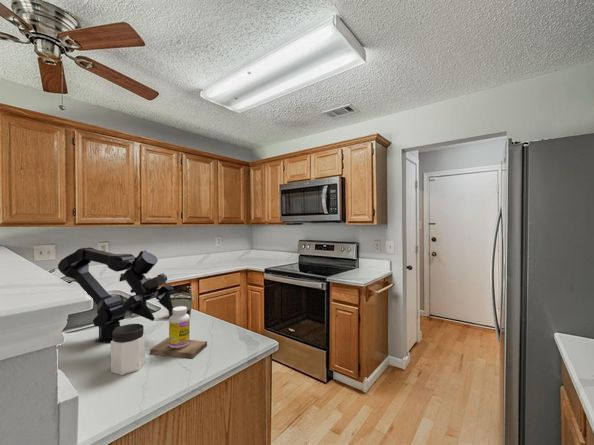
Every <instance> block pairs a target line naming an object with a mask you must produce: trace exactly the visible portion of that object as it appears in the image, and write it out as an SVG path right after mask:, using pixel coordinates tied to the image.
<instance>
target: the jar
mask: <svg viewBox="0 0 594 445" xmlns="http://www.w3.org/2000/svg"><path fill="white" fill-rule="evenodd" d="M144 330H145V329H144V325H143V324H142V323H129V324H124V325H120V327H118V328H116V329H114V330H113V334H112V338H113V340H112V341H111V342H110V372H111V373H114V374H117V375H120V376H124V375H127V374H130V373H134V372H137V371H139V370H141V368H142V367H143V365H144V364H145V363H146V334H145V333H144Z"/></svg>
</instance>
